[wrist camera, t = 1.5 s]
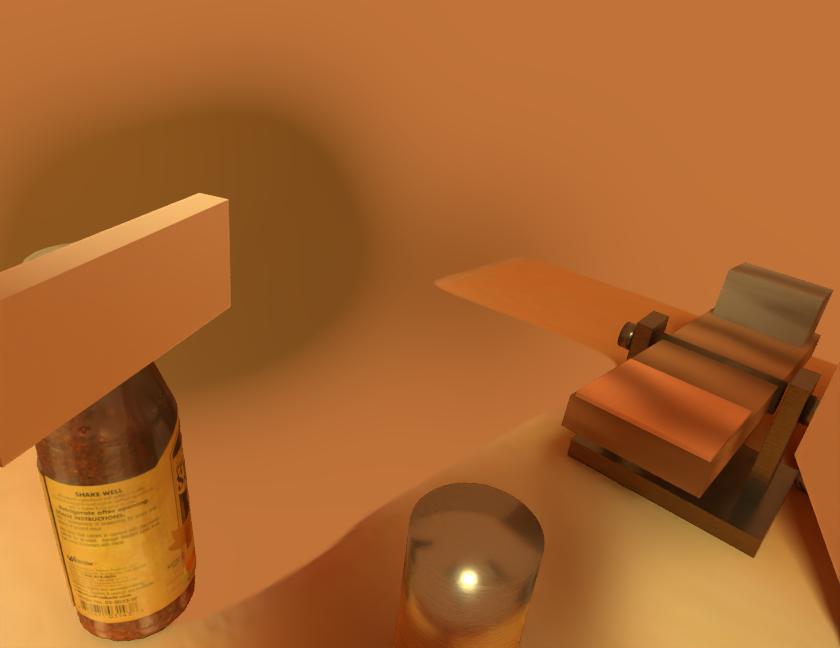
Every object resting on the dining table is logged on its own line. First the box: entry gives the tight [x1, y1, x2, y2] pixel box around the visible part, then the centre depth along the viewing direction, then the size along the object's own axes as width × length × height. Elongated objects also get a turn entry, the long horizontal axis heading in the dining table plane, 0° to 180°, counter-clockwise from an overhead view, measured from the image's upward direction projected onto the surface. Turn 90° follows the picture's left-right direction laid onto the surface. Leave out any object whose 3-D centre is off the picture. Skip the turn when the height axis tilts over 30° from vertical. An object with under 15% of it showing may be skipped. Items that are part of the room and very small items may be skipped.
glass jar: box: [394, 483, 544, 648], centre depth 31 cm, size 6×6×10 cm
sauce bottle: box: [23, 243, 196, 641], centre depth 31 cm, size 6×6×20 cm
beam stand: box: [568, 311, 821, 558], centre depth 47 cm, size 10×14×11 cm
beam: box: [562, 262, 833, 498], centre depth 45 cm, size 30×9×6 cm, turn 139°
